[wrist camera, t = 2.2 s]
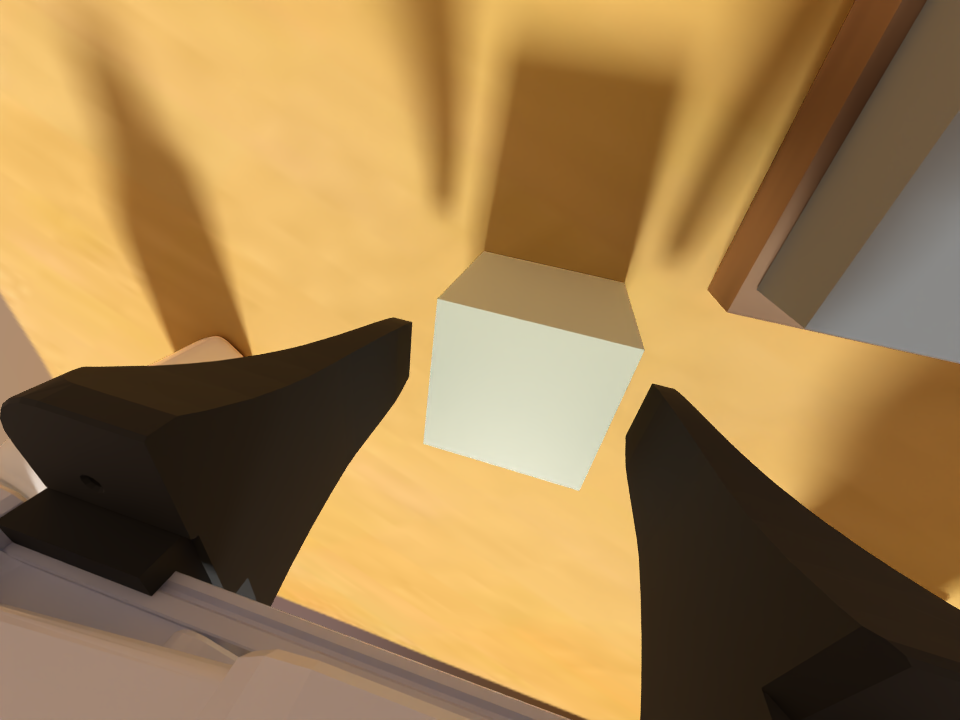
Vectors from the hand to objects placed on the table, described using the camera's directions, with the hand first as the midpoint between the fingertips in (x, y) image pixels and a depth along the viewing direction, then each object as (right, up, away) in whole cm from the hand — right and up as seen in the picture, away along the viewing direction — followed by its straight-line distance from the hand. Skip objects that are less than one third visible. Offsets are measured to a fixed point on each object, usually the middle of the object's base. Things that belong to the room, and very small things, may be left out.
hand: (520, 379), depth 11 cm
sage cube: (+1, +2, +3) cm, 4 cm away
